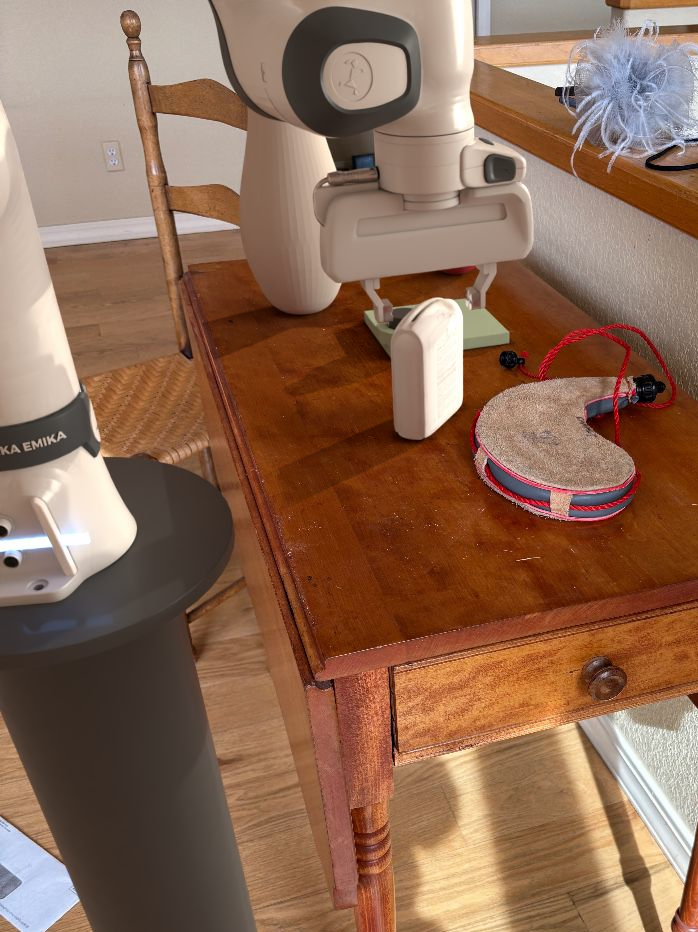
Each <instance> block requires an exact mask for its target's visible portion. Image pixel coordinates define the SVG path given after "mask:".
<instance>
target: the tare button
mask: <svg viewBox="0 0 698 932" xmlns="http://www.w3.org/2000/svg"><path fill="white" fill-rule="evenodd" d="M411 310H412V308H396V309H393V312H392V315H393V321H391V322H389V328H390V329H393V330H395V329H396V328H397V326H398V324H399V323H400V322H401V320H402V319H403V318H404V317H405V316H406V315H407V314H408V313H409V312H410V311H411Z"/></svg>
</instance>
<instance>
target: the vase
mask: <svg viewBox="0 0 698 932" xmlns="http://www.w3.org/2000/svg"><path fill="white" fill-rule="evenodd" d="M246 125H247V127H246V137H245V149H244V157H243V161H242V162H243V163H242V169H241V177H240V187H239V201H238V222H239V232H240V239H241V243H242V248H243V252H244V255H245V258H246V261H247V263H248V267H249V269H250V271H251V273H252V275H253V278H254V279H255V281H256V284H257V286H259V289H260V290H261V292H262V293H263V295H264V297H265V298H266V299H267V300H268V301H269V303H270V304H271V305H272V306H274V307H275V308H277V309H278V310H279V311H281V312H284V313H286V314H291V315H298V316H299V315H300V316H301V315H311V314H315V313H318V312H322V311H323V310H324V309H326V308H328V307H329V306H330V305H331V304H332V303H333V302H334V300H335V299H336V297H337V295H338V293H339V291H340V288H341V286H342V284H343V283H336V282H334V281H333V280H332V279H331V278H330V277H329V276H328V275H327V274H326V273H325V272H324V270H323V268H322V266H321V260H320V223H319V222H318V221H317V219H316V217H315V214H314V206H313V191H314V188H315V186H316V185H317V183H318V182H319V181H320V180H322V179H323V178H326V177H327V174H328V173H330V172H334V171H338V170H337V168H336V165H335V162H334V159H333V157H332V153H331V150H330V148H329V144H328V142H327V141H328V140H327V137H322V136H319V135H316V134H313V133H311V132H309V131H306V130H303V129H300V128H298V127H295V126H293V125H291V124H289V123H287V122H282V121H277V120H272V119H268V118H265V117H263V116H261V115H259V114H257V113H256V112H254V111H253V110H251V109H250V108H249V107H248V106H247V124H246ZM327 185H329V184H328V182H327V183H325V184H323V185H322V186H327Z"/></svg>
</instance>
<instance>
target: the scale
mask: <svg viewBox="0 0 698 932" xmlns="http://www.w3.org/2000/svg"><path fill="white" fill-rule="evenodd" d="M452 300H453V301H455V302H456V303H457V305H458V306H459V308H460V310H461V312H462V316H463V351H464V350H470V349H471V350H472V349H478V348H484V347H493V346H499V345H507V344H510V332H509V330H508V329H507V328H505V327H504V325H502V324H501V323H500V322H499V321H498V319H496V317H494V316H493V315H492V314H491V313H490V312H489V311H488V310H487V309H486V307H485V308H482V309H475V310H470V309H469V308H468V307H467V306H466V297H465V298H459V299H458V298H457V299H452ZM419 304H420V303H419ZM419 304H410V305H403V306H394V307H393V309H396V308H412V309H413V308H415V307H416V306H417V305H419ZM363 317H364V324H366V325H367V327H368V328H369V329H370V331H371V333H372V334H373V336H374V337H375V338H376V340H377V341H378V342H379V344H380V345H381V347H382V348H383V349H384V351H385V352H386V354H387V356H389V358H390V359H391V339H392V336H393V333H394V331H395V330H393V329H390V328H389V322H385V323H377V321H376V320H375V316H374V309H371V310H364V311H363Z"/></svg>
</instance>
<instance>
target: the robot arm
mask: <svg viewBox="0 0 698 932" xmlns="http://www.w3.org/2000/svg"><path fill="white" fill-rule="evenodd" d="M207 2H208V4H209V6H210V9H211V13H212V15H213V19H214V23H215V27H216V32H217V39H218V45H219V50H220V55H221V59H222V64H223V68H224V72H225V74H226V76H227V79H228V82H229V84H230V86H231V88H232V89H233V91H234V93H235V94H236V96H237V97H238V98H239V99H240V101H242V103H243V104H244V105H245V106H246V107H247V108H248V107H249V108H250V109H251V110H253V111H254V112H256V113H257V114H259V115H261V116H263V117H265V118H268V119H272V120H277V121H282V122H287V123H289V124H291V125H293V126H295V127H298V128H300V129H303V130H306V131H309V132H311V133H313V134H316V135H319V136H322V137H325V138H328V139H341V138H343V139H344V138H348V137H353V136H357V135H359V134H362V133H366V132H369V131H371V130H373V131H372V132H373V146H374V147H373V149H374V161H375V162H374V163H375V166H374V167H373V166H371V167H364V168H356V169H352V170H348V171H342V170H337V171H334V172H330V173H328V174H327V177H326V178H323V179H322V180H320V181H319V182H318V183H317V185H316V186H315V188H314V191H313V206H314V214H315V217H316V219H317V221H318V222H319V223H320V260H321V266H322V268H323V270H324V272H325V273H326V274H327V275H328V276H329V277H330V278H331V279H332V280H333V281H334V282H336V283H342V284H344V283H345V284H346V283H351V282H359V284H360V286H361V287H362V288H363V290H364V291H365V293H366V294H367V296H368V297H369V299H370V301H371V302H372V305H373V310H374V316H375V320H376V321H377V323H385V322H391V321H393V315H392V312H393V303H392V302H390V300H389V298H382V299H381V298H380V297H379V296H378V294H377V292H376V291H375V290H379V289H381V284H380V279H381V278H389V277H397V276H405V275H412V274H420V273H427V272H428V273H429V272H435V271H441V270H443V269H450V268H458V267H465V266H473V265H476V266H475V268H476V269H477V270H479V273H478V275H477V276H476V279H475V281H474V284H473V285H472V286H468V287H465V296H466V297H465V298H466V306H467V307H468V308H469V309H470V310H475V309H482V308H485V309H486V292H487V291H488V289H489V288H490V286H491V284H492V282H493V281H494V279H495V277H496V275H497V273H498V272H497V267H498V266H497V263H502V262H509V261H518V260H524V259H526V257H527V256H528V255H529V253H530V252H531V250H532V249H533V246H534V213H533V212H534V211H533V202H532V198H531V194H530V191H529V189H528V188H527V186H526V185H525V184H523V182H522V181H523V180H524V179H525V177H526V175H527V161H526V158H524V157H523V156H522V155H521V154H520V153H518V151H515V150H514V149H512V148H510V147H509V146H506V145H504V144H502V143H499V142H497V141H493V140H489V139H487V138H484V137H478V136H475V117H474V113H473V110H472V106H471V99H470V97H471V96H470V89H471V83H472V78H473V74H474V69H475V43H474V42H475V40H474V19H473V5H472V0H207ZM10 124H11V123H10V122H9V119H8V115H7V113H6V111H5V108H4V104H3V101H2V100H1V98H0V607H4V606H16V605H28V604H41V603H52V602H57V601H60V600H62V599H64V598H66V597H67V596H69V595H70V594H71V593H72V592H73V591H74V590H75V589H76V588H77V587H78V586H79V585H80V584H81V583H82V582H83V581H84V580H85V579H87V578H88V577H90V576H92V575H93V574H95V573H97V572H99V571H100V570H102V569H104V568H106V567H107V566H109V565H110V564H112V563H113V562H115V561H116V560H117V559H118V558H120V557H121V556H122V555H123V554H124V553H125V552H126V551H127V550H128V549H129V547H130V546H131V544H132V543H133V541H134V539H135V536H136V533H137V525H136V521H135V519H134V517H133V516H132V514H131V513H130V512H129V510H128V509H127V507H126V505H125V504H124V502H123V500H122V499H121V497H120V495H119V493H118V491H117V489H116V487H115V485H114V483H113V481H112V479H111V477H110V474H109V472H108V470H107V467H106V465H105V462H104V460H103V457H104V456H103V455H102V452H101V445H102V444H101V441H102V440H101V434H100V429H99V425H98V421H97V417H96V414H95V410H94V406H93V403H92V399H91V397H89V395H88V391H87V388H86V385H85V383H84V382H83V381H82V379H79V376H78V374H77V371H76V367H75V366H76V365H75V363H74V360H73V356H72V352H71V348H70V344H69V340H68V337H67V333H66V329H65V326H64V322H63V318H62V314H61V311H60V307H59V304H58V299H57V296H56V291H55V288H54V285H53V280H52V277H51V273H50V270H49V264H48V261H47V259H46V258H47V257H46V254H45V249H44V245H43V242H42V238H41V234H40V231H39V227H38V223H37V219H36V215H35V214H36V213H35V210H34V207H33V203H32V199H31V195H30V192H29V187H28V183H27V180H26V176H25V173H24V169H23V165H22V161H21V157H20V153H19V150H18V146H17V143H16V139H15V136H14V133H13V130H12V127H11V125H10ZM327 182H328V184H329V185H327V186H322V185H323V184H325V183H327Z"/></svg>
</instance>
